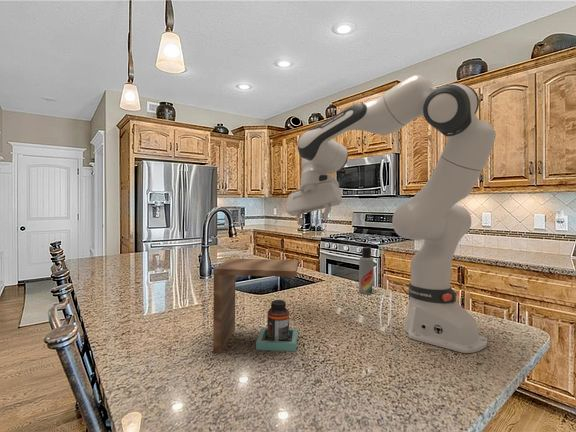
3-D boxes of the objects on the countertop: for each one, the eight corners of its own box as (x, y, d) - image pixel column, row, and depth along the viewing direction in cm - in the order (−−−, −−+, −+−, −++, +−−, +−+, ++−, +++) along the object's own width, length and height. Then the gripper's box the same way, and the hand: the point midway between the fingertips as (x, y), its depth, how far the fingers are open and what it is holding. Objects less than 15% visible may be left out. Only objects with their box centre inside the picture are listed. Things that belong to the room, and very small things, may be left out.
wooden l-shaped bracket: (297, 331, 100) (298, 260, 100) (294, 356, 84) (295, 271, 84) (228, 329, 102) (229, 258, 101) (213, 352, 86) (213, 268, 85)
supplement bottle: (264, 339, 95) (264, 299, 94) (284, 336, 97) (284, 297, 96) (271, 348, 89) (271, 305, 88) (292, 345, 91) (292, 303, 91)
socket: (297, 335, 98) (297, 328, 98) (295, 351, 87) (296, 343, 87) (261, 334, 98) (261, 327, 98) (256, 349, 88) (256, 342, 88)
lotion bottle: (372, 294, 143) (373, 247, 142) (358, 294, 144) (359, 247, 143) (372, 291, 148) (373, 246, 147) (358, 290, 149) (359, 245, 148)
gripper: (283, 189, 121) (281, 224, 115) (334, 173, 110) (334, 211, 104) (293, 196, 125) (291, 230, 120) (343, 182, 114) (344, 219, 109)
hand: (312, 221), depth 112 cm, fingers open, 8 cm apart
